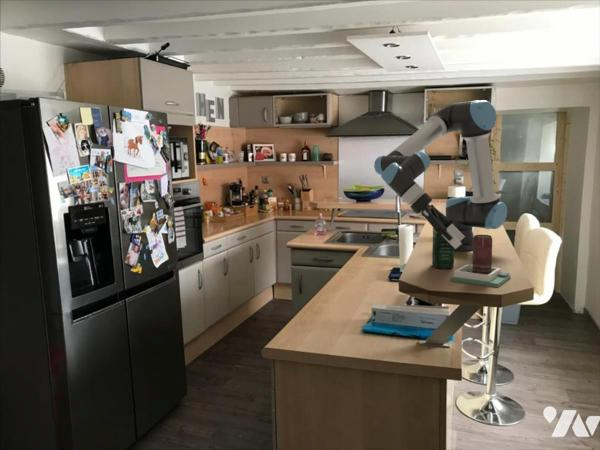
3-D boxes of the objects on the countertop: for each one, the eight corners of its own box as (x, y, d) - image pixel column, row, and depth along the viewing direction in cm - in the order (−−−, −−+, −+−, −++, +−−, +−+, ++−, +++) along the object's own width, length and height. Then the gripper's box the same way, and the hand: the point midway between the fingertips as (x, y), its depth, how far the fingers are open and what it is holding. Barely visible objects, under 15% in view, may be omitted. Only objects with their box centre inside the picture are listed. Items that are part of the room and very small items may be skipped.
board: (464, 271, 180) (465, 263, 180) (510, 277, 170) (510, 268, 170) (450, 280, 169) (450, 271, 169) (497, 287, 159) (498, 277, 159)
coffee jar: (455, 269, 184) (456, 220, 181) (434, 269, 185) (434, 220, 182) (451, 263, 194) (452, 217, 191) (430, 263, 195) (431, 217, 192)
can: (474, 277, 167) (475, 237, 165) (471, 273, 173) (472, 234, 171) (492, 278, 166) (494, 237, 164) (489, 273, 172) (490, 234, 170)
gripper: (415, 202, 187) (455, 243, 184) (402, 210, 164) (448, 257, 161) (430, 188, 184) (471, 229, 181) (418, 195, 162) (465, 242, 158)
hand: (460, 242), depth 171 cm, fingers open, 13 cm apart
